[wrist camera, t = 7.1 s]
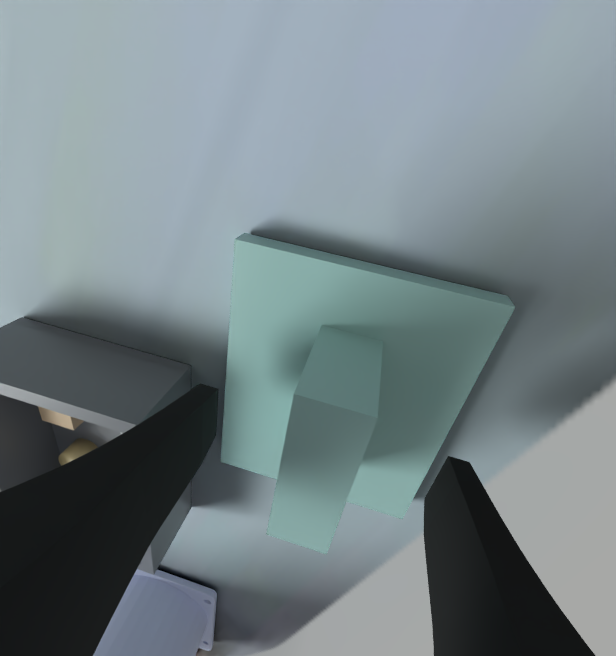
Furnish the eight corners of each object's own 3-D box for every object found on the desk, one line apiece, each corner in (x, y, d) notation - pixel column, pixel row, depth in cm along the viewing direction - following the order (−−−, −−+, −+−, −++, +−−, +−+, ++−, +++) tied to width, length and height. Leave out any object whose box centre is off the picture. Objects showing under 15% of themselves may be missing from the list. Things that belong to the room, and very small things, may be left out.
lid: (401, 494, 16) (403, 616, 12) (231, 441, 17) (178, 538, 13) (503, 290, 11) (568, 384, 7) (249, 230, 11) (169, 280, 7)
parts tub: (191, 507, 19) (153, 575, 16) (63, 465, 20) (6, 522, 17) (191, 365, 14) (137, 425, 11) (22, 317, 15) (-70, 360, 12)
